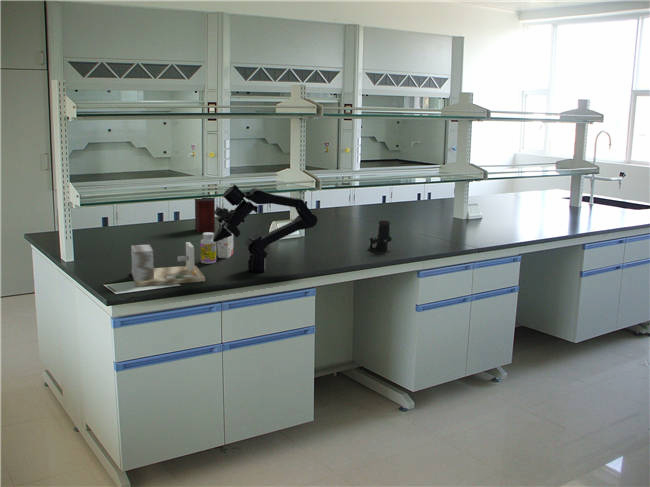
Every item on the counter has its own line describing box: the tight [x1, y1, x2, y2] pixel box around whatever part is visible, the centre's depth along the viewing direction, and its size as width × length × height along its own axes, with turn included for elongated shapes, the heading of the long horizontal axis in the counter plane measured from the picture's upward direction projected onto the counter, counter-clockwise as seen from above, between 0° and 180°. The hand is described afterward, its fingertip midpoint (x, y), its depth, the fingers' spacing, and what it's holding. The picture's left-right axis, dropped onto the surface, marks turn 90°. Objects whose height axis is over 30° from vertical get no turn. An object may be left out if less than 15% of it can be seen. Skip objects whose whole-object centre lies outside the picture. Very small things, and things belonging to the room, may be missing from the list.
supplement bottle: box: [200, 232, 217, 265], centre depth 280 cm, size 7×7×13 cm
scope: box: [368, 220, 393, 252], centre depth 313 cm, size 8×14×10 cm
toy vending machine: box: [194, 197, 216, 234], centre depth 342 cm, size 9×11×28 cm
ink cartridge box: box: [217, 234, 234, 259], centre depth 291 cm, size 9×5×15 cm, turn 170°
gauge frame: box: [130, 244, 206, 287], centre depth 256 cm, size 26×19×12 cm
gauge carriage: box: [177, 241, 196, 275], centre depth 256 cm, size 6×13×11 cm, turn 22°
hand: (213, 241), depth 261 cm, fingers closed
